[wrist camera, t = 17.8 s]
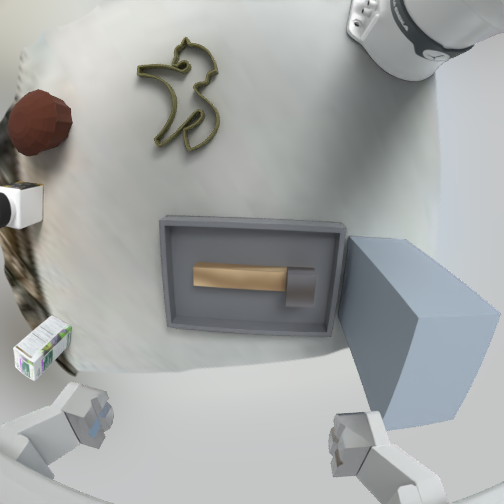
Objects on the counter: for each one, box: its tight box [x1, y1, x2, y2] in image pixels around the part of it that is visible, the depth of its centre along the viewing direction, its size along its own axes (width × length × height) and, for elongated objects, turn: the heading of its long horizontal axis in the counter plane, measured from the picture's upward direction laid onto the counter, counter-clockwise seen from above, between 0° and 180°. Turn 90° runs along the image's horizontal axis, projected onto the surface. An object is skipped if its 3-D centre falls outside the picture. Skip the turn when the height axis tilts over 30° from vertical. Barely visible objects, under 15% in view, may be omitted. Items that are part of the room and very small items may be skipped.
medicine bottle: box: [0, 182, 43, 229], centre depth 43 cm, size 7×7×12 cm
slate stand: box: [338, 236, 501, 431], centre depth 36 cm, size 14×10×26 cm
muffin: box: [8, 89, 72, 156], centre depth 39 cm, size 12×11×10 cm
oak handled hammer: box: [193, 262, 317, 307], centre depth 46 cm, size 5×18×6 cm, turn 88°
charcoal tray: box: [159, 216, 346, 337], centre depth 48 cm, size 18×27×4 cm, turn 88°
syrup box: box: [13, 315, 71, 381], centre depth 50 cm, size 6×6×14 cm
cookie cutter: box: [137, 37, 220, 151], centre depth 41 cm, size 18×12×2 cm, turn 14°
